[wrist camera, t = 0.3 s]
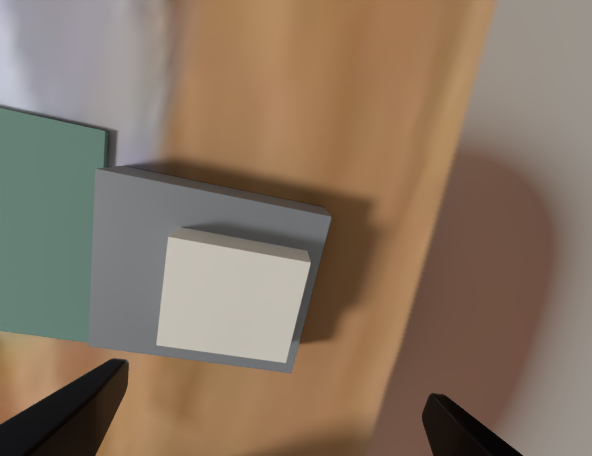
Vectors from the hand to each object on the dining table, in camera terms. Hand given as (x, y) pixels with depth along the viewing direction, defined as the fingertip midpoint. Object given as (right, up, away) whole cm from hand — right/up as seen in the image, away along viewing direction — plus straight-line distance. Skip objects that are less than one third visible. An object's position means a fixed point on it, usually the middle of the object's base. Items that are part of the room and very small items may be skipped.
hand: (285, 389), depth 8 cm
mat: (-20, +5, +11) cm, 24 cm away
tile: (-4, +1, +10) cm, 11 cm away
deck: (-6, +2, +13) cm, 14 cm away
